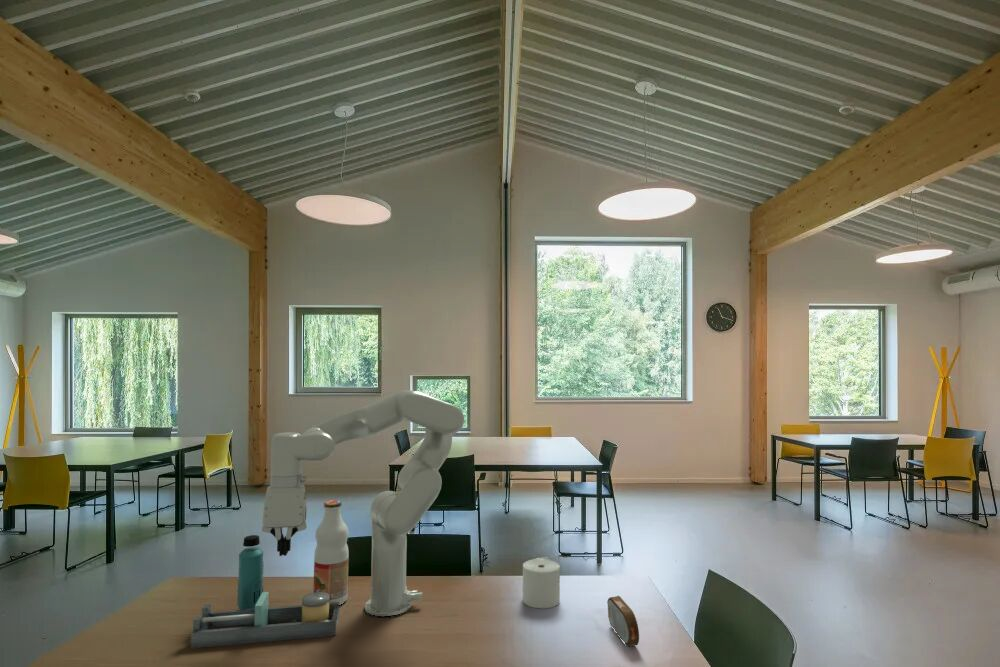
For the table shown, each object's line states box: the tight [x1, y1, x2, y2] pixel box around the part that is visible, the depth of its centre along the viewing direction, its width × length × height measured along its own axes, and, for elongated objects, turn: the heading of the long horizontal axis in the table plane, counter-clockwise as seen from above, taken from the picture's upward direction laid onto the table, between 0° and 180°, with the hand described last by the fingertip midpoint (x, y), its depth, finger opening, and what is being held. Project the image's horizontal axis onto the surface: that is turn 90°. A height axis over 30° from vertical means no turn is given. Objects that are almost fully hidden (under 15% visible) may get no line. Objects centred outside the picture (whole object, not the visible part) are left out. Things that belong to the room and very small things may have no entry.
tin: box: [606, 595, 640, 647], centre depth 140 cm, size 15×3×8 cm, turn 9°
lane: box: [190, 602, 340, 649], centre depth 142 cm, size 33×11×6 cm, turn 102°
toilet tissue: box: [522, 556, 561, 609], centre depth 161 cm, size 11×12×10 cm
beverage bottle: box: [236, 534, 265, 610], centre depth 153 cm, size 6×7×20 cm
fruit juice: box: [312, 499, 349, 606], centre depth 160 cm, size 9×9×28 cm
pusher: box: [203, 591, 270, 626], centre depth 140 cm, size 16×8×8 cm, turn 102°
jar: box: [301, 592, 330, 622], centre depth 144 cm, size 7×7×8 cm
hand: (283, 553), depth 143 cm, fingers closed
